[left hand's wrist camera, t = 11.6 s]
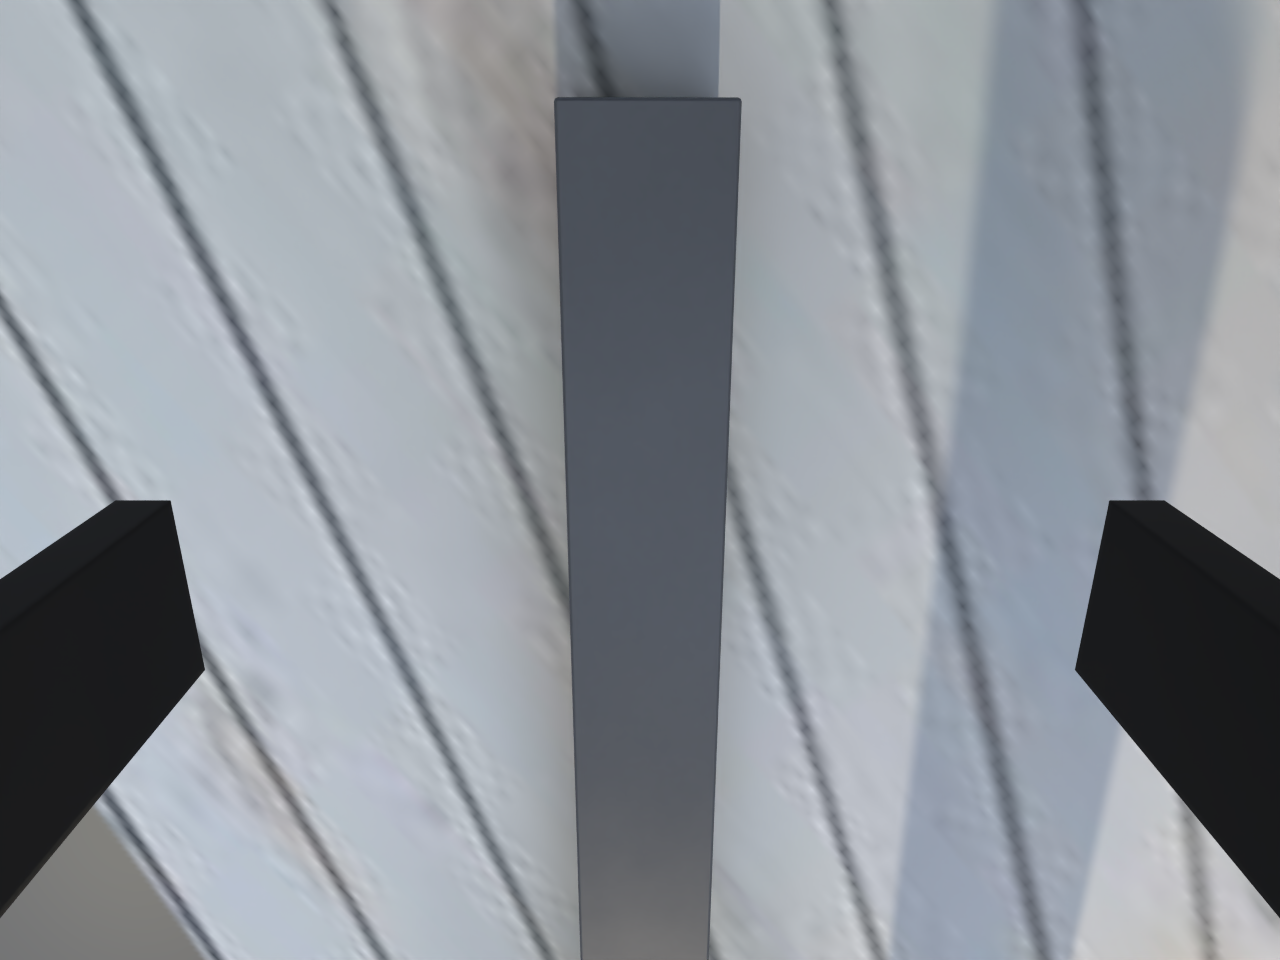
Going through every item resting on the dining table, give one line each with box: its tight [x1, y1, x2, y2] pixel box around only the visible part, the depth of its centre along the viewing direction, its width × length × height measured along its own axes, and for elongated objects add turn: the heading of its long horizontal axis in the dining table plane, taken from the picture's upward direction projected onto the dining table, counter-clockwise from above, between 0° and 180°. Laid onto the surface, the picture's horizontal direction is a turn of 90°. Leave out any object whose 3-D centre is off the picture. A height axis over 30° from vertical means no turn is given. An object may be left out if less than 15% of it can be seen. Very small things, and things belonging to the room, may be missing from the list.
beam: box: [554, 97, 742, 960], centre depth 38 cm, size 63×5×7 cm, turn 0°
